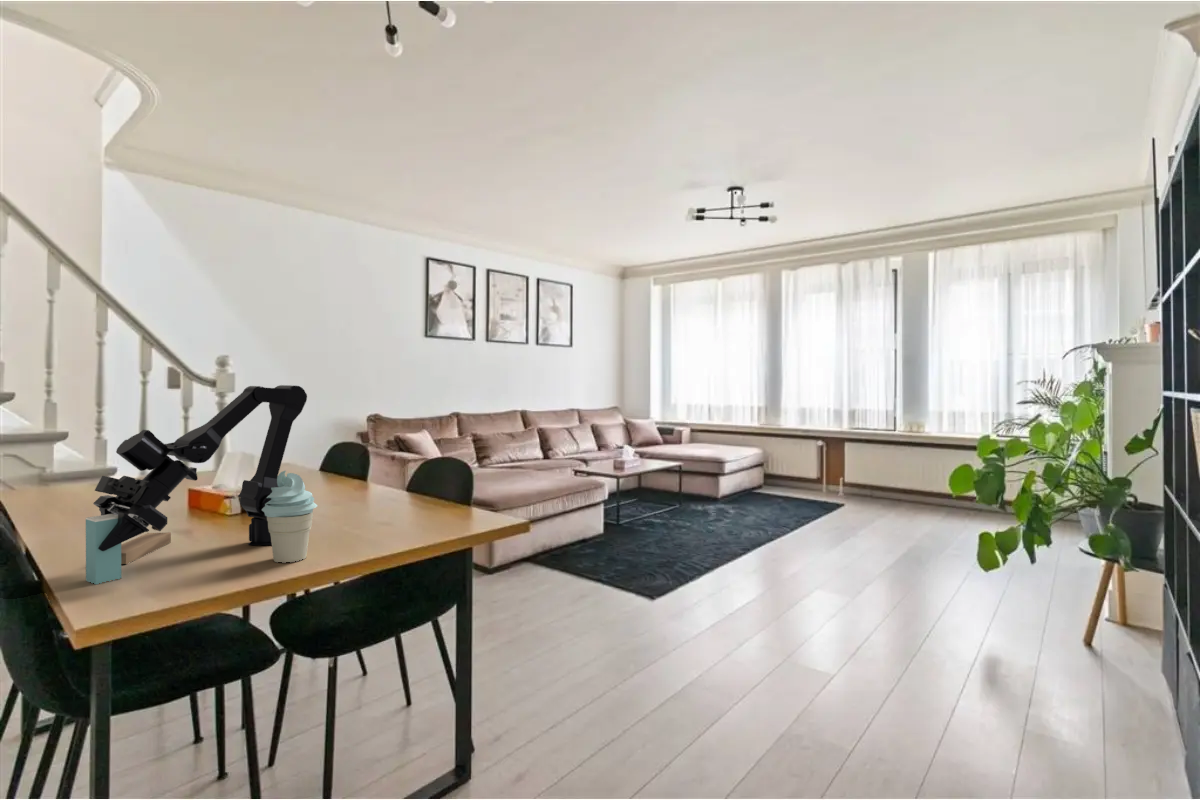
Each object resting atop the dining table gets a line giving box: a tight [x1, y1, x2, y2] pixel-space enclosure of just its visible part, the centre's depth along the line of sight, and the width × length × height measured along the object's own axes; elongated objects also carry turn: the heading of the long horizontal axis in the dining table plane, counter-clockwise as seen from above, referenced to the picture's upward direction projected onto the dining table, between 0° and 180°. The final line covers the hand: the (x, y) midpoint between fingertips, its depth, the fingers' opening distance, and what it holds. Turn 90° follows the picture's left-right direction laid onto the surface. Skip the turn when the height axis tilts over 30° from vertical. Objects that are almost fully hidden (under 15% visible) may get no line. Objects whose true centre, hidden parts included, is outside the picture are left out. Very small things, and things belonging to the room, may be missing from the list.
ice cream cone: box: [262, 470, 318, 564], centre depth 136 cm, size 10×11×20 cm
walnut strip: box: [121, 532, 172, 565], centre depth 138 cm, size 5×18×2 cm, turn 10°
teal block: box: [85, 514, 122, 585], centre depth 120 cm, size 4×4×12 cm
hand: (95, 548), depth 119 cm, fingers closed on teal block, 4 cm apart
